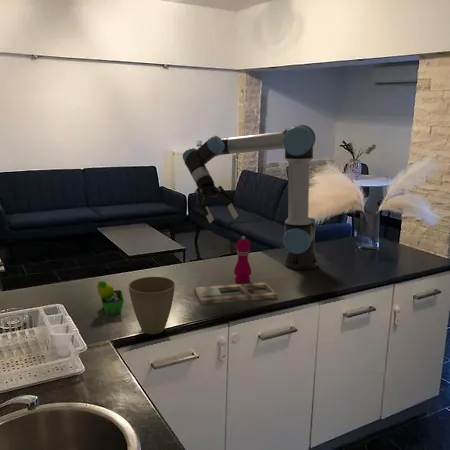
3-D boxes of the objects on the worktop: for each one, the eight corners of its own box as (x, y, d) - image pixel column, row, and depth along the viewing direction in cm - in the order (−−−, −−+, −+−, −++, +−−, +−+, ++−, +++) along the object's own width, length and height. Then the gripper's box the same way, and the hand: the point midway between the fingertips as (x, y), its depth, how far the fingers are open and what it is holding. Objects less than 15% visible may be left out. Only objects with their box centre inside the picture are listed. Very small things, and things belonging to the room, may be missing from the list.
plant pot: (132, 320, 173) (131, 276, 170) (176, 320, 174) (175, 276, 170) (127, 340, 159) (125, 292, 155) (174, 339, 160) (174, 292, 156)
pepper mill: (231, 279, 215) (231, 234, 210) (246, 277, 218) (247, 232, 213) (238, 285, 209) (239, 238, 204) (253, 283, 211) (255, 237, 207)
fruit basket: (124, 314, 178) (123, 284, 175) (98, 317, 176) (97, 286, 173) (121, 302, 189) (120, 274, 186) (97, 304, 186) (96, 276, 184)
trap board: (265, 285, 209) (265, 281, 208) (277, 298, 195) (277, 293, 195) (194, 291, 201) (194, 286, 201) (201, 304, 188) (201, 299, 188)
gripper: (220, 182, 233) (241, 220, 225) (176, 187, 217) (197, 227, 209) (228, 172, 228) (250, 210, 220) (183, 176, 212) (205, 217, 204)
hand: (224, 219), depth 215 cm, fingers open, 13 cm apart
